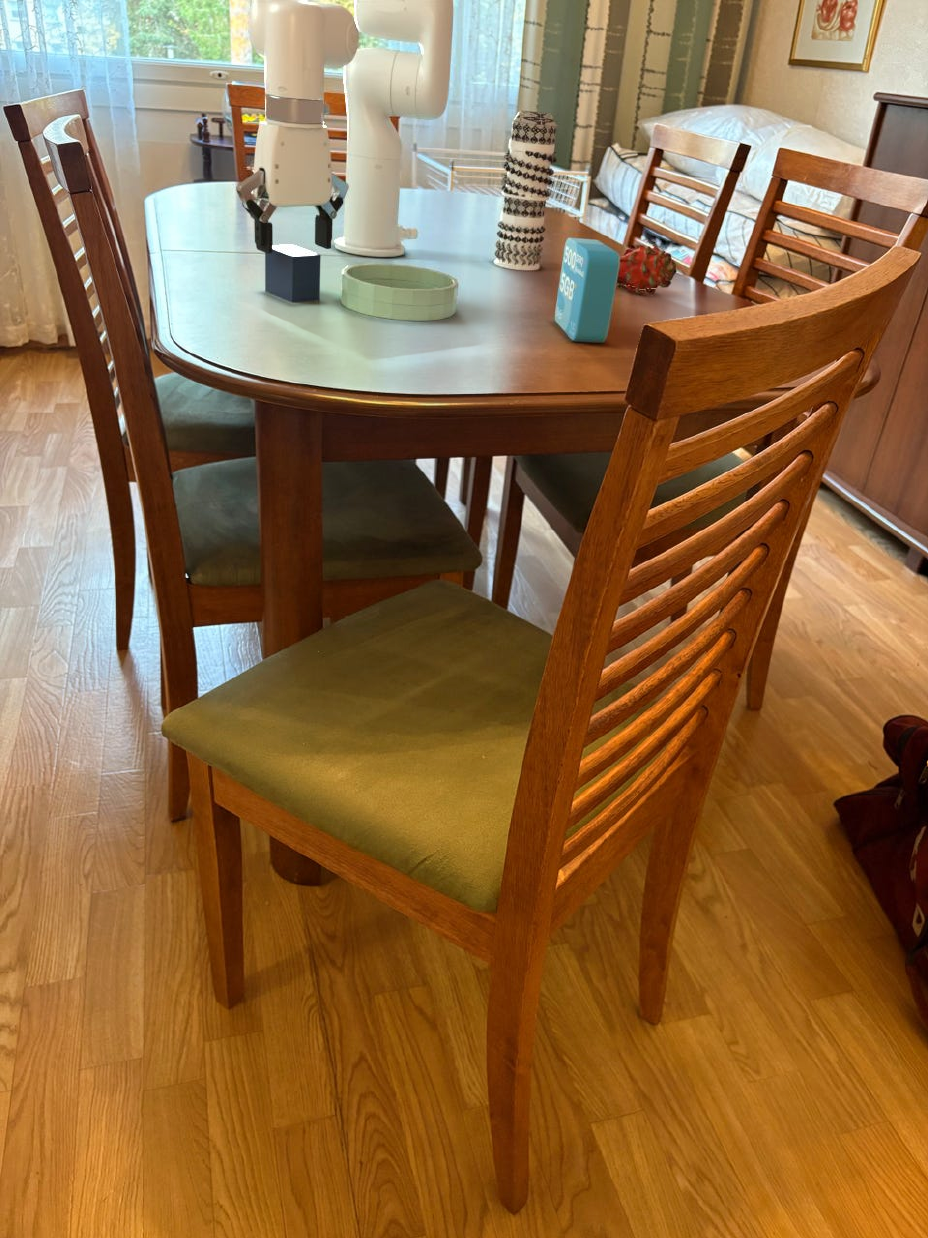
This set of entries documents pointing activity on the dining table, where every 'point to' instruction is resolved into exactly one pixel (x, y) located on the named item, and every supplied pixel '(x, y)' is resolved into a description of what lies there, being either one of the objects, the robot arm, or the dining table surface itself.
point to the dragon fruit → (645, 269)
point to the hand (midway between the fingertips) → (294, 248)
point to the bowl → (399, 292)
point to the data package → (586, 289)
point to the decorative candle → (525, 190)
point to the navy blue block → (293, 273)
